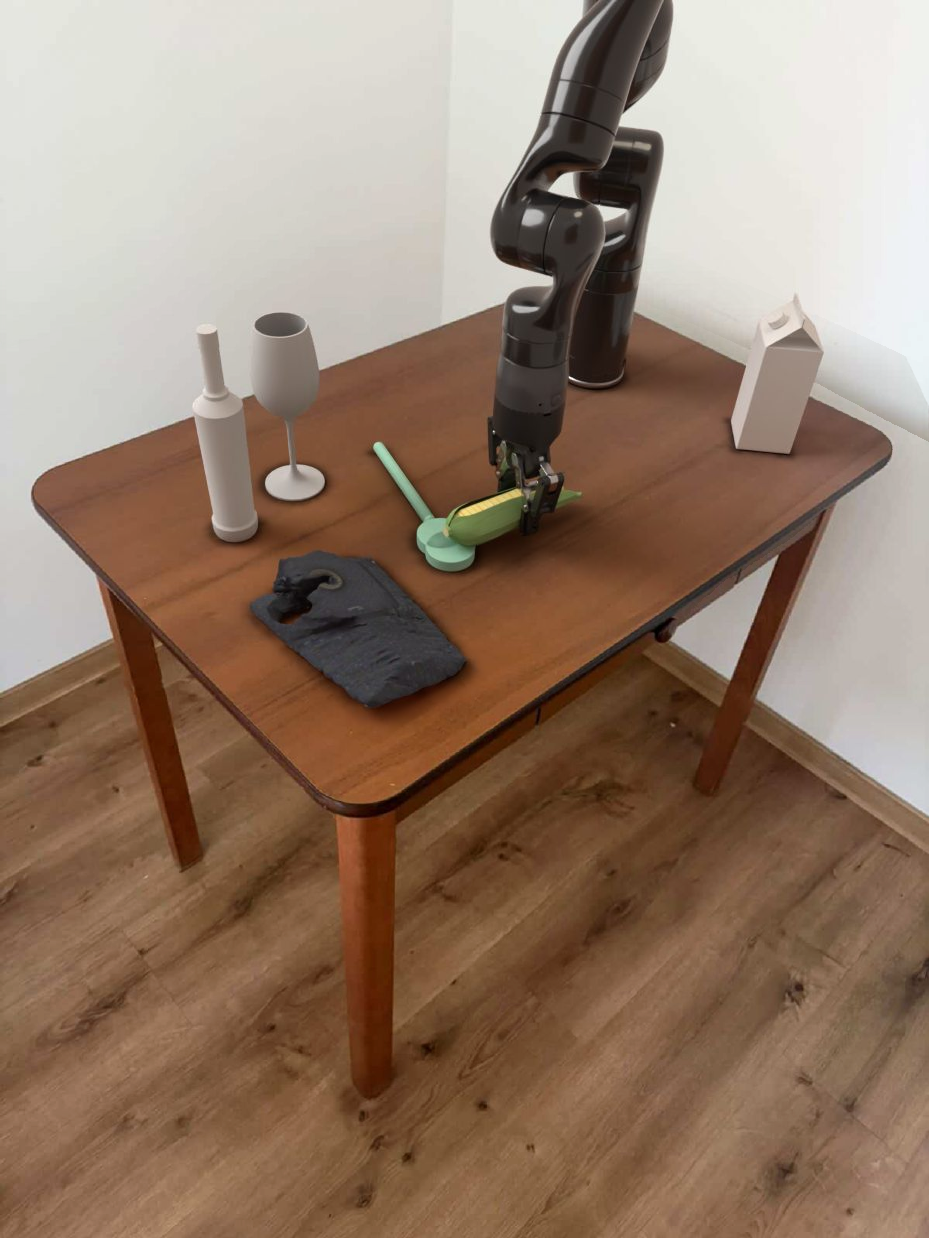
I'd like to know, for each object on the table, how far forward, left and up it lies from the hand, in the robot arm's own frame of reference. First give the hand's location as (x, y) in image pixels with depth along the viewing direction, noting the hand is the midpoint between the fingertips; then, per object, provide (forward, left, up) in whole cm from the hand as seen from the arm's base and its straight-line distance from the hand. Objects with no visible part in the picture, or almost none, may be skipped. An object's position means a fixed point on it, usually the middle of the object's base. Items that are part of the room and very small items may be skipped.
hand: (517, 518), depth 112 cm
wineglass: (-18, -21, -2) cm, 28 cm away
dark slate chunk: (+9, -23, -2) cm, 25 cm away
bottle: (-12, -30, -2) cm, 33 cm away
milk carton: (-5, +40, -2) cm, 40 cm away
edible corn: (0, 0, -1) cm, 1 cm away
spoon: (-9, -9, -2) cm, 13 cm away
